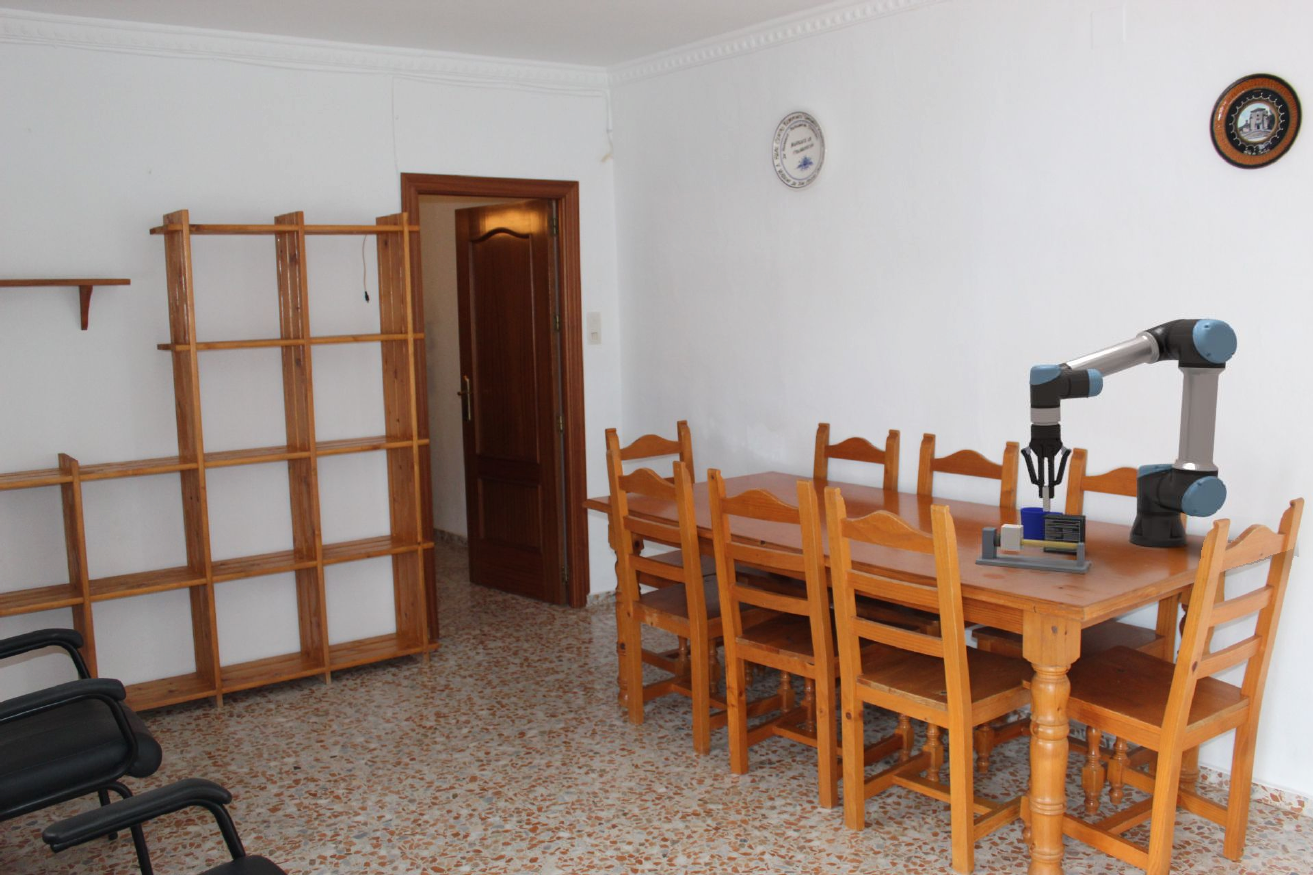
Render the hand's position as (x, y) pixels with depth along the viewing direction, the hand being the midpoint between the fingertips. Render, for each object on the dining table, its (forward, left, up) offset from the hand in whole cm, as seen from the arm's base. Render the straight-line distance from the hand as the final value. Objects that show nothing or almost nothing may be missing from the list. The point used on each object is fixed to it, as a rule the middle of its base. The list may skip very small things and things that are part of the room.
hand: (1046, 510), depth 283 cm
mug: (+6, -28, -15) cm, 32 cm away
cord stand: (+3, 0, -15) cm, 16 cm away
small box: (-2, -19, -15) cm, 24 cm away
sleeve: (+9, 0, -11) cm, 14 cm away
